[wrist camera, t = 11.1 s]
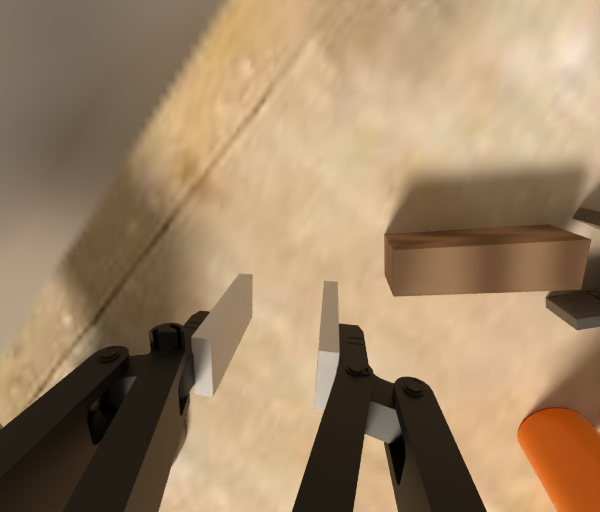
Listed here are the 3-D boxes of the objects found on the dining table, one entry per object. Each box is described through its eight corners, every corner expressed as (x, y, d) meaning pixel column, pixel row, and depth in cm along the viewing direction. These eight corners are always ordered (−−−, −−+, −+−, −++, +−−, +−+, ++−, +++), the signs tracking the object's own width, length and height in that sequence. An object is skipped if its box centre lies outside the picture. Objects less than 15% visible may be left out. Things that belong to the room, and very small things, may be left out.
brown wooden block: (384, 273, 31) (393, 296, 26) (384, 234, 29) (393, 250, 25) (540, 266, 29) (580, 289, 24) (547, 224, 28) (591, 239, 23)
